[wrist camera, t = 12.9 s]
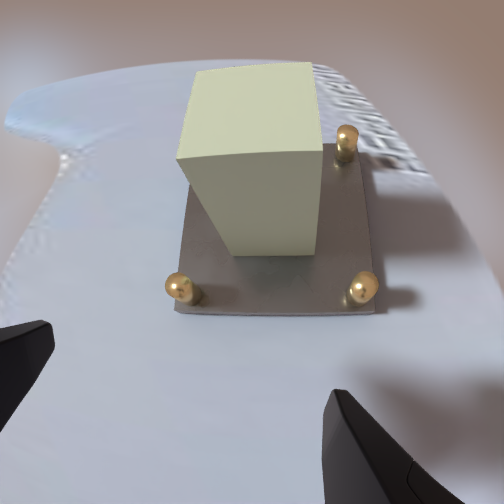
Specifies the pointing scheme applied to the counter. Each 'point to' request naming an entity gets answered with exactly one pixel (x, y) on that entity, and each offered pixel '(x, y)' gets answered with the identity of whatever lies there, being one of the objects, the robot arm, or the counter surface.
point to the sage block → (256, 156)
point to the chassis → (286, 267)
